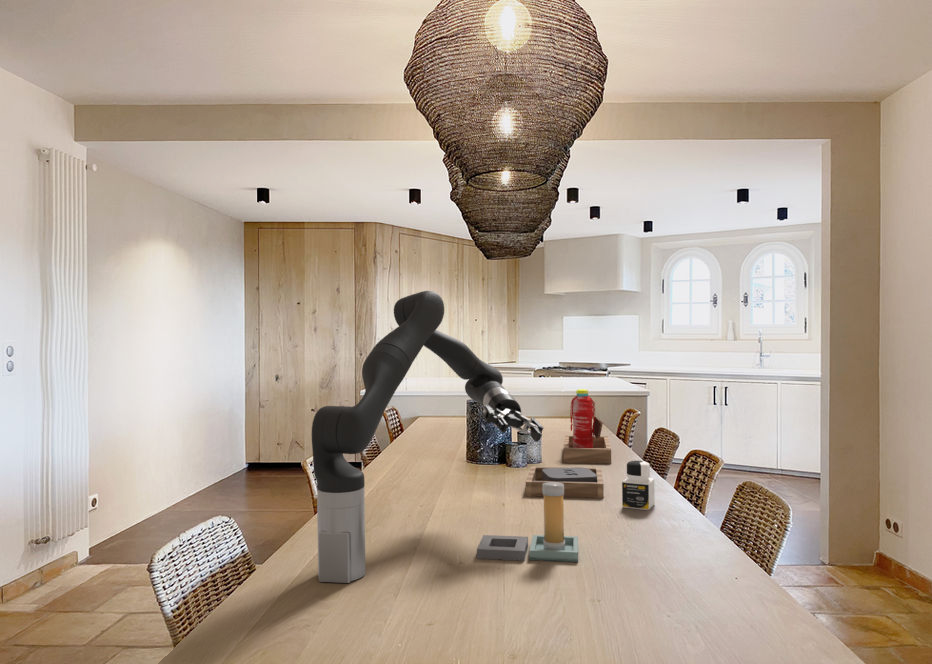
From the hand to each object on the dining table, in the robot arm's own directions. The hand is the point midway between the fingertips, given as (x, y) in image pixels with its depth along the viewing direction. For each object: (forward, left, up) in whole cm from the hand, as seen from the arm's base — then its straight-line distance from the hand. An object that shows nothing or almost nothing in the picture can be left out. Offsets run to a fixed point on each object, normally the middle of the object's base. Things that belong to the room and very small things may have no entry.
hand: (522, 433), depth 157 cm
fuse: (-7, -7, -24) cm, 26 cm away
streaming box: (+52, -10, -25) cm, 59 cm away
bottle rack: (+108, -15, -24) cm, 112 cm away
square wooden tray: (+53, -8, -24) cm, 59 cm away
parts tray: (-8, -7, -24) cm, 27 cm away
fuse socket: (-9, +4, -24) cm, 26 cm away
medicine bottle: (+34, -28, -25) cm, 51 cm away
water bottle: (+108, -15, -25) cm, 112 cm away
